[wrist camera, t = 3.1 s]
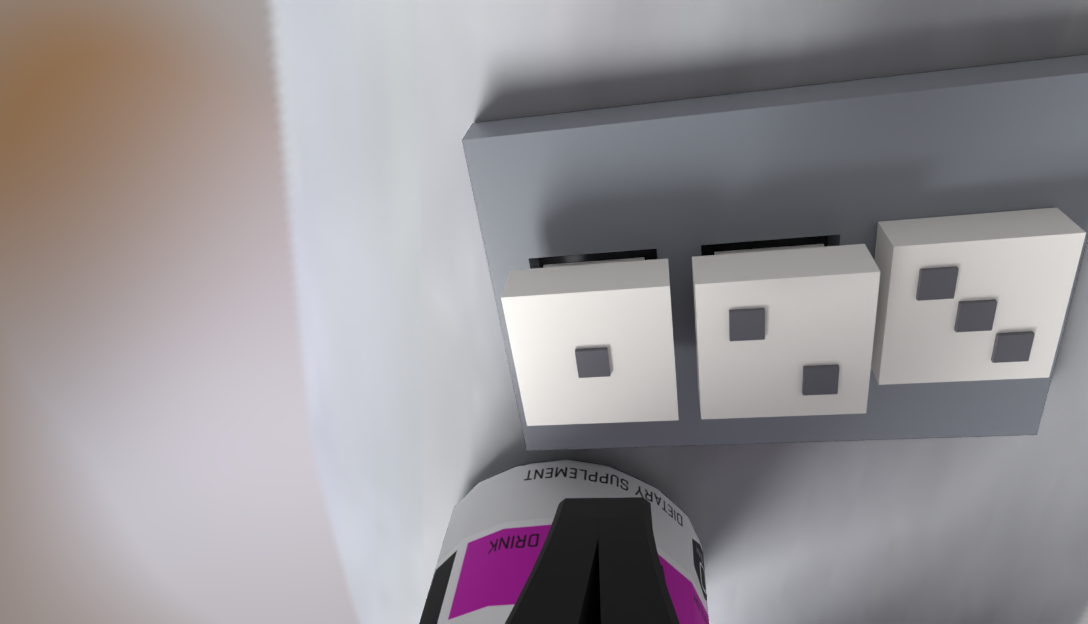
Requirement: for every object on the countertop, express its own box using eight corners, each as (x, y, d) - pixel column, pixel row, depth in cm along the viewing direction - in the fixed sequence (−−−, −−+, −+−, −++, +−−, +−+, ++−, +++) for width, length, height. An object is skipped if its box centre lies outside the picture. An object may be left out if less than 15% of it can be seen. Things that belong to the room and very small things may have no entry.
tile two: (841, 350, 18) (867, 416, 16) (695, 357, 19) (701, 422, 16) (850, 219, 16) (881, 274, 14) (688, 232, 17) (695, 287, 15)
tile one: (675, 358, 19) (678, 423, 17) (539, 365, 19) (525, 429, 17) (666, 234, 17) (669, 288, 15) (517, 246, 17) (499, 300, 15)
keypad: (1016, 404, 19) (1036, 434, 18) (532, 422, 22) (526, 450, 21) (1098, 52, 15) (1131, 68, 14) (472, 123, 17) (461, 140, 16)
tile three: (1004, 318, 18) (1051, 380, 16) (853, 327, 19) (880, 387, 17) (1031, 185, 16) (1089, 235, 14) (864, 199, 17) (895, 249, 15)
